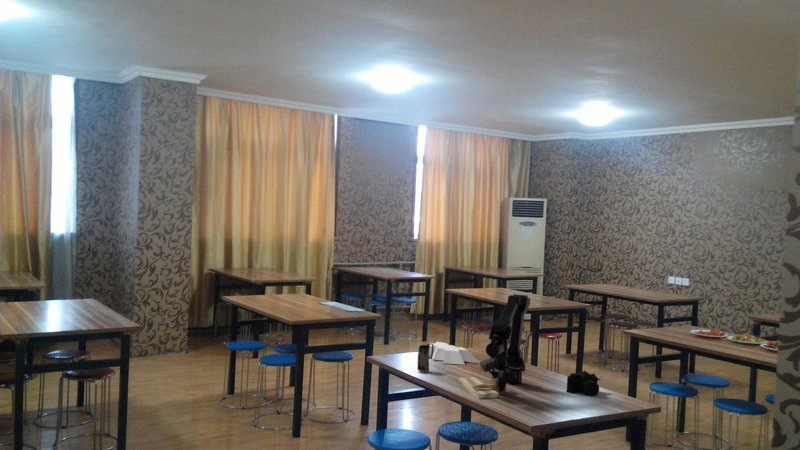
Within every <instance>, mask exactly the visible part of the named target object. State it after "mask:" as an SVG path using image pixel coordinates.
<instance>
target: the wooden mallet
mask: <svg viewBox="0 0 800 450" xmlns="http://www.w3.org/2000/svg"><path fill="white" fill-rule="evenodd" d="M490 378H491V380H490V381H491V382H490V383H484V384H478V385H473V387H472V388H473V389H478V388H492V389H493V390H495V391H496V392H498V393H499V395H506V394H507V384H506V385H505V387H504V389H503V391H502V392H500V391H499V379H498V378H497V377H495V378H492V377H490Z"/></svg>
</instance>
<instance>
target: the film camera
mask: <svg viewBox="0 0 800 450" xmlns="http://www.w3.org/2000/svg"><path fill="white" fill-rule="evenodd" d="M566 377H567V378H566V393H569V394H585V395H588V396H591V397H595V396H597V395H598V394H599V392H600V385H599V384H598V381H601V378H598V376H597V375H596V373H589V372H588V371H586V370H584V371H583V370H580V372H579V373H576V372H575V373H574V372H573V373H570V374H569V375H568V376H566Z"/></svg>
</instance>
